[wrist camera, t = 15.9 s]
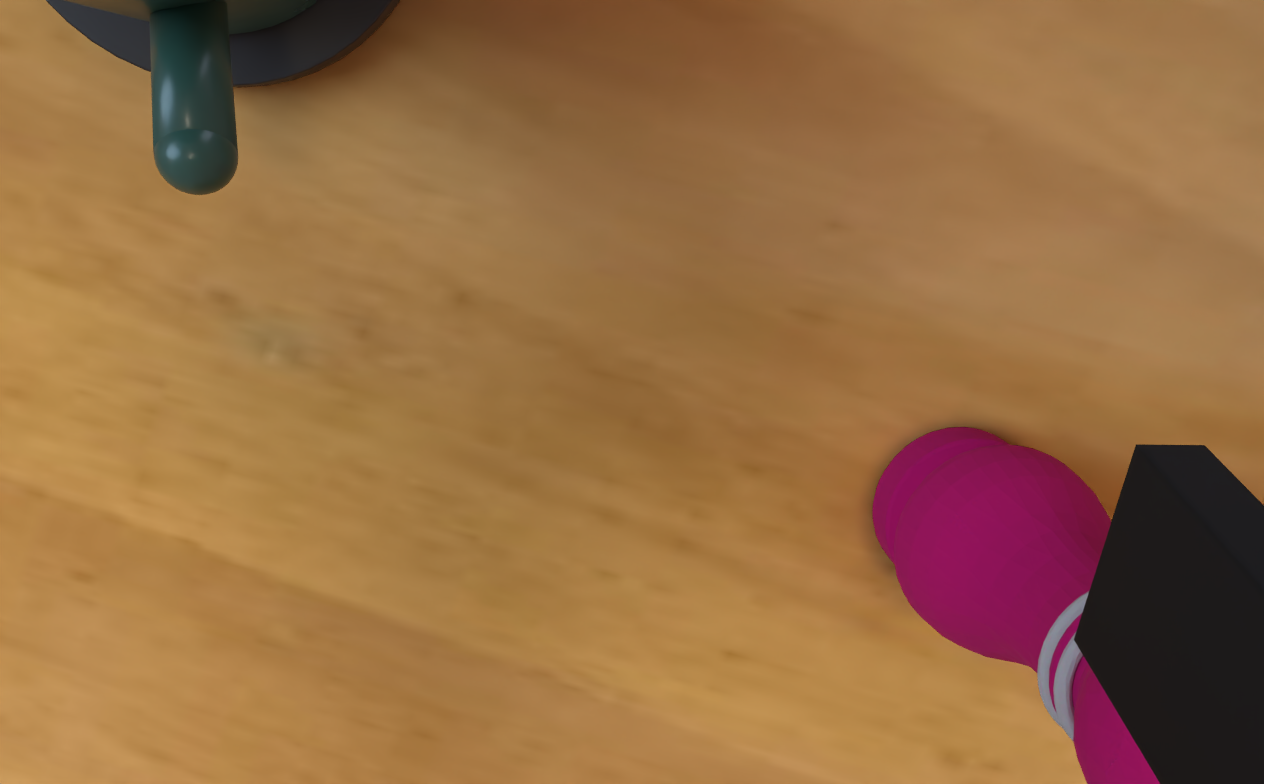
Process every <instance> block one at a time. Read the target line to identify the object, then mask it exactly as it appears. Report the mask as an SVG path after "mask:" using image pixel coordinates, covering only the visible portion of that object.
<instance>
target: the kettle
mask: <svg viewBox="0 0 1264 784" xmlns="http://www.w3.org/2000/svg"><path fill="white" fill-rule="evenodd" d="M64 1H68V2H72V3H76V4H80V5H84V6H88V7H92V8H96V9H100V10H104V11H108V12H112V13H116V14H120V15H124V16H128V17H132V18H136V19H140V20H144V21H148V22H149V23H150V54H151V86H152V117H153V149H154V158H155V163H156V166H157V168H158V170H159V172H160V174H161V175H162V176H163V178H164V179H165V180H166V181H167V182H168V183H169V184H170V185H172V186H173V187H175V188H176V189H178V190H180V191H182V192H185V193H189V194H194V195H204V194H210V193H213V192H216V191H218V190H220V189H221V188H223V187H224V186H226V185H227V184H228V183H229V182H230V180H231V179H232V177H233V176H234V174H235V171H236V168H237V164H238V149H237V135H236V121H235V108H234V94H233V80H232V67H231V53H230V39H229V35H230V34H239V33H247V32H253V31H257V30H261V29H264V28H268V27H272V26H274V25H277V24H279V23H281V22H284V21H286V20H289V19H291V18H293V17H295V16H296V15H298V14H300V13H301V12H303V11H304V10H306V9H308V8H309V7H311V6H312V5H313V4H315V3H316V2H317V1H318V0H64Z"/></svg>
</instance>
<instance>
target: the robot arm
mask: <svg viewBox="0 0 1264 784" xmlns="http://www.w3.org/2000/svg"><path fill="white" fill-rule="evenodd" d="M1074 641H1075V643H1076V644H1077V646H1078V648H1079V649H1080V651H1081V653H1082V654H1083V656H1084V658H1085V659H1086V661H1087V663H1088V664H1089V666H1090V668H1091V669H1092V671H1093V673H1094V674H1095V676H1096V678H1097V679H1098V681H1099V683H1100V684H1101V686H1102V688H1103V689H1104V691H1105V693H1106V694H1107V696H1108V698H1109V699H1110V701H1111V703H1112V704H1113V706H1114V708H1115V709H1116V711H1117V713H1118V714H1119V716H1120V718H1121V719H1122V721H1123V723H1124V724H1125V726H1126V728H1127V729H1128V731H1129V733H1130V734H1131V736H1132V738H1133V739H1134V741H1135V743H1136V744H1137V746H1138V748H1139V749H1140V751H1141V753H1142V754H1143V756H1144V758H1145V759H1146V761H1147V763H1148V764H1149V766H1150V768H1151V769H1152V771H1153V773H1154V774H1155V776H1156V778H1157V779H1158V781H1159V783H1160V784H1264V505H1263V504H1262V503H1261V502H1260V501H1259V500H1258V499H1257V498H1256V497H1255V496H1254V495H1253V494H1252V493H1251V492H1250V491H1249V490H1248V489H1247V488H1246V487H1245V486H1244V485H1243V484H1242V483H1241V482H1240V481H1239V480H1238V479H1237V478H1236V477H1235V476H1234V475H1233V474H1232V473H1231V472H1230V471H1229V470H1228V469H1227V468H1226V467H1225V466H1224V465H1223V464H1222V463H1221V462H1220V461H1219V460H1218V459H1217V458H1216V457H1215V455H1214V454H1213V453H1212V452H1211V451H1210V450H1209V449H1208V448H1207V447H1206V446H1205V445H1136V447H1135V450H1134V453H1133V456H1132V459H1131V462H1130V465H1129V469H1128V472H1127V475H1126V478H1125V481H1124V484H1123V487H1122V490H1121V494H1120V497H1119V500H1118V503H1117V506H1116V509H1115V512H1114V515H1113V519H1112V522H1111V525H1110V528H1109V531H1108V534H1107V537H1106V540H1105V544H1104V547H1103V550H1102V553H1101V556H1100V559H1099V562H1098V565H1097V569H1096V572H1095V575H1094V578H1093V581H1092V584H1091V587H1090V590H1089V594H1088V597H1087V600H1086V603H1085V606H1084V609H1083V612H1082V615H1081V619H1080V622H1079V625H1078V628H1077V631H1076V634H1075V637H1074Z"/></svg>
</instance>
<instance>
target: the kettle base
mask: <svg viewBox="0 0 1264 784" xmlns="http://www.w3.org/2000/svg"><path fill="white" fill-rule="evenodd" d="M46 1H47V2H48V3H49V4H50V5H51V6H52V7H53V8H54V9H55V10H56V11H57V12H58V13H59V14H60V15H61V16H62V17H63V18H64V19H65V20H66V21H67V22H68V23H70V24H71V25H72V26H73V27H75V28H76V29H77V30H78V31H80V32H81V33H82V34H83V35H85V36H86V37H87V38H88V39H90V40H91V41H92V42H94V43H96V44H97V45H99V46H100V47H102V48H104V49H105V50H107V51H108V52H110V53H112V54H113V55H115V56H117V57H118V58H120V59H123V60H125V61H127V62H129V63H131V64H133V65H135V66H138V67H140V68H142V69H144V70H147V71H150V72H151V54H150V23H149V22H148V21H144V20H140V19H136V18H132V17H128V16H124V15H120V14H116V13H112V12H108V11H104V10H100V9H96V8H92V7H88V6H84V5H80V4H76V3H72V2H68V1H64V0H46ZM399 1H400V0H318V1H317V2H316V3H315V4H313V5H312V6H311V7H309V8H308V9H306V10H304V11H303V12H301V13H300V14H298V15H296V16H295V17H293V18H291V19H289V20H286V21H284V22H281V23H279V24H277V25H274V26H272V27H268V28H264V29H261V30H257V31H253V32H247V33H239V34H230V35H229V39H230V53H231V67H232V80H233V87H252V86H267V85H272V84H277V83H281V82H286V81H291V80H295V79H297V78H300V77H303V76H306V75H309V74H311V73H314V72H317V71H319V70H321V69H323V68H325V67H327V66H329V65H330V64H332V63H334V62H336V61H338V60H340V59H342V58H343V57H344V56H346V55H347V54H348V53H350V52H351V51H353V50H354V49H355V48H357V47H358V46H360V45H361V44H362V43H363V42H364V41H365V40H366V39H367V38H368V37H369V36H371V35H372V34H373V33H374V32H375V31H376V30H377V29H378V28H379V27H380V26H381V25H382V23H383V22H384V21H385V20H386V18H387V17H388V16H389V14H390V13H391V12H392V11H393V9H394V8H395V7H396V6H397V4H398V2H399Z"/></svg>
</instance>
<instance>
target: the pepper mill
mask: <svg viewBox="0 0 1264 784" xmlns="http://www.w3.org/2000/svg"><path fill="white" fill-rule="evenodd" d="M873 522H874V528H875V533H876V536H877V539H878V541H879V543H880V545H881V547H882V549H883V550H884V551H885V553H886V554H887V556H888V557H889V558H890V559H891V561H892V562H893V563H894V564H895V569H896V574H897V578H898V580H899V583H900V586H901V588H902V591H903V593H904V594H905V596H906V598H907V600H908V601H909V603H910V605H911V606H912V607H913V608H914V610H915V611H916V612H917V613H918V614H919V615H920V616H921V617H922V618H923V619H924V620H925V621H926V622H927V623H928V624H930V625H931V626H932V627H933V628H934V629H935V630H936V631H937V632H939V633H940V634H941V635H942V636H943V637H945V638H947V639H949V640H950V641H952V642H954V643H956V644H957V645H959V646H962V647H964V648H966V649H968V650H971V651H973V652H976V653H978V654H981V655H983V656H986V657H990V658H995V659H1000V660H1005V661H1010V662H1016V663H1020V664H1023V665H1027V666H1029V667H1031V668H1032V669H1033V670H1034V671H1035V672H1037V674H1038V686H1039V691H1040V695H1041V698H1042V700H1043V703H1044V705H1045V707H1046V709H1047V710H1048V712H1049V714H1050V715H1051V716H1052V718H1053V719H1054V720H1055V721H1056V722H1057V723H1058V724H1059V725H1060V726H1061V727H1062V728H1063V729H1064V730H1065V732H1066V733H1067V735H1068V736H1069V737H1070V738H1071V739H1072V741H1074V745H1075V749H1076V753H1077V758H1078V761H1079V763H1080V766H1081V768H1082V771H1083V774H1084V776H1085V779H1086V782H1087V783H1088V784H1160V783H1159V781H1158V779H1157V778H1156V776H1155V774H1154V773H1153V771H1152V769H1151V768H1150V766H1149V764H1148V763H1147V761H1146V759H1145V758H1144V756H1143V754H1142V753H1141V751H1140V749H1139V748H1138V746H1137V744H1136V743H1135V741H1134V739H1133V738H1132V736H1131V734H1130V733H1129V731H1128V729H1127V728H1126V726H1125V724H1124V723H1123V721H1122V719H1121V718H1120V716H1119V714H1118V713H1117V711H1116V709H1115V708H1114V706H1113V704H1112V703H1111V701H1110V699H1109V698H1108V696H1107V694H1106V693H1105V691H1104V689H1103V688H1102V686H1101V684H1100V683H1099V681H1098V679H1097V678H1096V676H1095V674H1094V673H1093V671H1092V669H1091V668H1090V666H1089V664H1088V663H1087V661H1086V659H1085V658H1084V656H1083V654H1082V653H1081V651H1080V649H1079V648H1078V646H1077V644H1076V643H1075V641H1074V637H1075V634H1076V631H1077V628H1078V625H1079V622H1080V619H1081V615H1082V612H1083V609H1084V606H1085V603H1086V600H1087V597H1088V594H1089V590H1090V587H1091V584H1092V581H1093V578H1094V575H1095V572H1096V569H1097V565H1098V562H1099V559H1100V556H1101V553H1102V550H1103V547H1104V544H1105V540H1106V537H1107V534H1108V531H1109V528H1110V525H1111V520H1110V518H1109V516H1108V515H1107V513H1106V511H1105V510H1104V508H1103V506H1102V505H1101V503H1100V501H1099V499H1098V498H1097V496H1096V494H1095V493H1094V492H1093V491H1092V490H1091V489H1090V488H1089V487H1088V486H1087V485H1086V484H1085V482H1084V481H1083V480H1082V479H1081V478H1080V477H1079V476H1077V475H1076V474H1075V473H1074V472H1073V471H1072V470H1070V469H1069V468H1068V467H1067V466H1066V465H1065V464H1064V463H1062V462H1060V461H1059V460H1057V459H1055V458H1054V457H1052V456H1051V455H1048V454H1045V453H1043V452H1040V451H1038V450H1035V449H1032V448H1028V447H1023V446H1018V445H1009V444H1008V443H1007V442H1005V441H1003V440H1002V439H1000V438H999V437H997V436H995V435H993V434H991V433H988V432H986V431H983V430H980V429H974V428H968V427H953V428H945V429H941V430H938V431H934V432H930V433H928V434H926V435H924V436H922V437H919V438H917V439H916V440H914V441H913V442H911V443H910V444H909V445H907V446H906V447H905V448H904V449H903V450H902V451H901V452H900V453H898V454H897V455H896V456H895V457H894V459H893V460H892V461H891V463H890V464H889V465H888V467H887V468H886V469H885V471H884V473H883V475H882V476H881V478H880V480H879V483H878V486H877V488H876V493H875V497H874V502H873Z"/></svg>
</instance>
